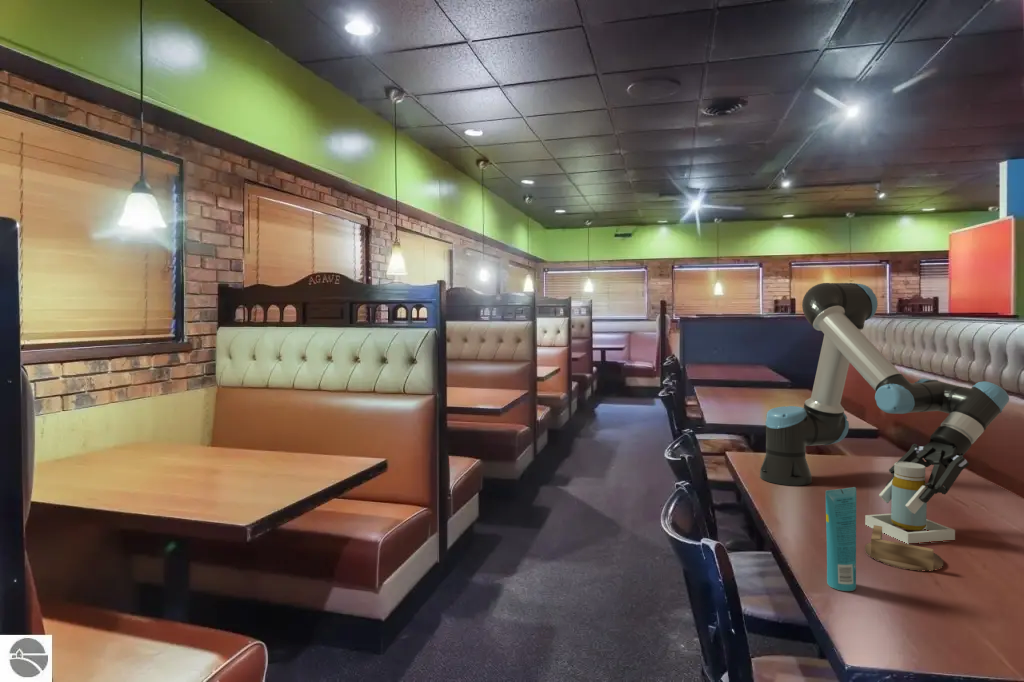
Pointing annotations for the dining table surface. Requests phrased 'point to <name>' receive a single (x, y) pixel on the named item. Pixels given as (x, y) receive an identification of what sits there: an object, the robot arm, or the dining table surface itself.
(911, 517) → the bottle
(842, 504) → the tube
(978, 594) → the dining table surface
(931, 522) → the grey frame
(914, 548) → the v block
